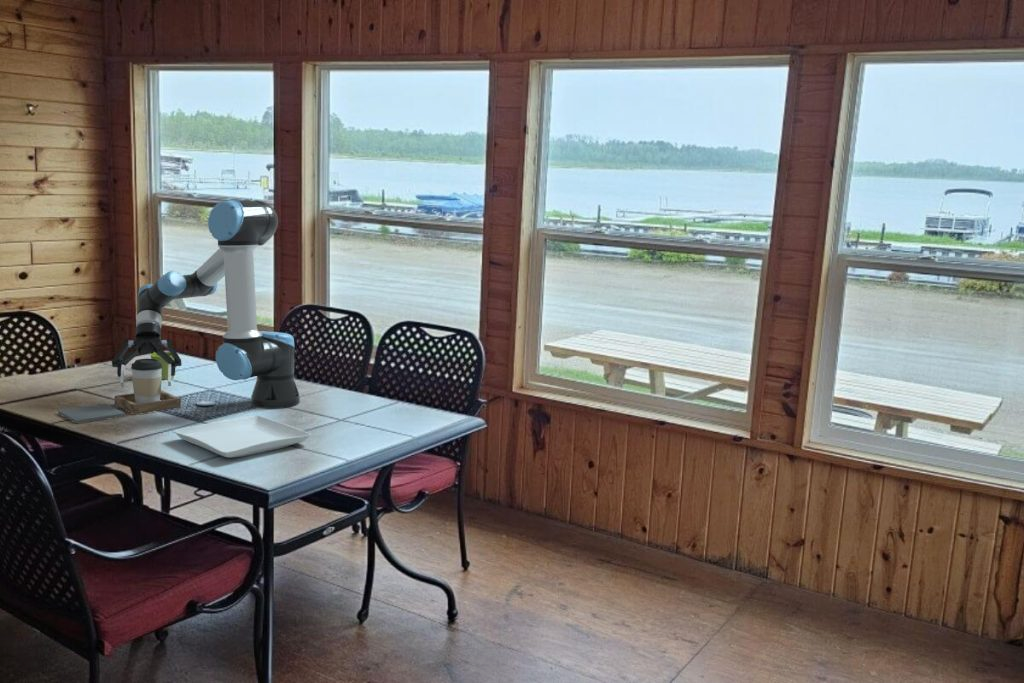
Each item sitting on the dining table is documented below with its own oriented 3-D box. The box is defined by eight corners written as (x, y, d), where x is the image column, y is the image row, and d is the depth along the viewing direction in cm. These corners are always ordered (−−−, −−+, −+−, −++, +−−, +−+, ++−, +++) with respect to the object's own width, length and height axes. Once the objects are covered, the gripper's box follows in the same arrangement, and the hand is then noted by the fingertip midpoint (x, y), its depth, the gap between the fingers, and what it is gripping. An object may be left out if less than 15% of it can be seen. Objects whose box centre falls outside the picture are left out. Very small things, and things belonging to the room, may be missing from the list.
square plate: (313, 446, 252) (313, 432, 251) (224, 466, 231) (224, 451, 231) (258, 425, 269) (258, 412, 269) (171, 442, 249) (171, 428, 248)
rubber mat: (125, 416, 271) (124, 413, 270) (76, 423, 261) (75, 420, 260) (106, 406, 280) (105, 403, 280) (58, 413, 270) (58, 410, 270)
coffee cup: (150, 401, 288) (149, 355, 286) (169, 406, 284) (168, 359, 281) (125, 407, 281) (124, 359, 278) (144, 412, 276) (143, 363, 274)
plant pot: (151, 375, 323) (150, 351, 322) (179, 374, 326) (178, 351, 325) (149, 381, 315) (148, 356, 313) (178, 380, 318) (177, 356, 316)
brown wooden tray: (180, 408, 283) (180, 398, 282) (134, 415, 272) (134, 405, 272) (160, 398, 292) (159, 389, 292) (114, 405, 282) (114, 395, 282)
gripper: (190, 334, 298) (189, 389, 287) (107, 334, 291) (103, 391, 279) (189, 321, 292) (188, 377, 281) (105, 321, 285) (100, 378, 273)
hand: (145, 384), depth 280 cm, fingers open, 13 cm apart
